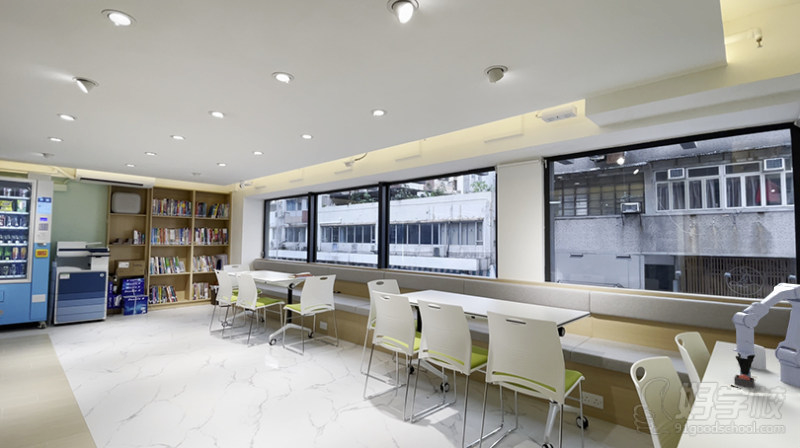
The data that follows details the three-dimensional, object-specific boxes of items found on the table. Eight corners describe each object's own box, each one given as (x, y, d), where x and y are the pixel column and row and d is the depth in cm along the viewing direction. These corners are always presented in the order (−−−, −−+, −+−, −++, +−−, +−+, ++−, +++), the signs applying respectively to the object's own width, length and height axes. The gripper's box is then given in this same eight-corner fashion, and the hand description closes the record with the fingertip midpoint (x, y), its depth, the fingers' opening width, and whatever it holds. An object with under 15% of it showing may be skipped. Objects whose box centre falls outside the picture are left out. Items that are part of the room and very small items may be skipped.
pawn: (755, 383, 160) (755, 366, 161) (745, 382, 160) (745, 366, 161) (745, 379, 165) (745, 363, 165) (735, 379, 165) (735, 362, 165)
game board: (737, 373, 176) (737, 365, 176) (760, 378, 170) (760, 369, 170) (730, 386, 159) (730, 376, 159) (756, 392, 153) (756, 382, 153)
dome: (738, 381, 161) (738, 372, 161) (751, 384, 158) (751, 375, 158) (737, 383, 158) (737, 374, 158) (750, 386, 155) (750, 377, 156)
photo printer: (737, 367, 187) (736, 342, 188) (738, 365, 190) (738, 340, 190) (765, 372, 179) (765, 346, 180) (766, 371, 182) (766, 345, 182)
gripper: (734, 336, 171) (735, 366, 171) (731, 341, 162) (731, 373, 161) (755, 339, 166) (756, 370, 166) (753, 344, 156) (754, 377, 156)
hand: (745, 372), depth 163 cm, fingers open, 7 cm apart
